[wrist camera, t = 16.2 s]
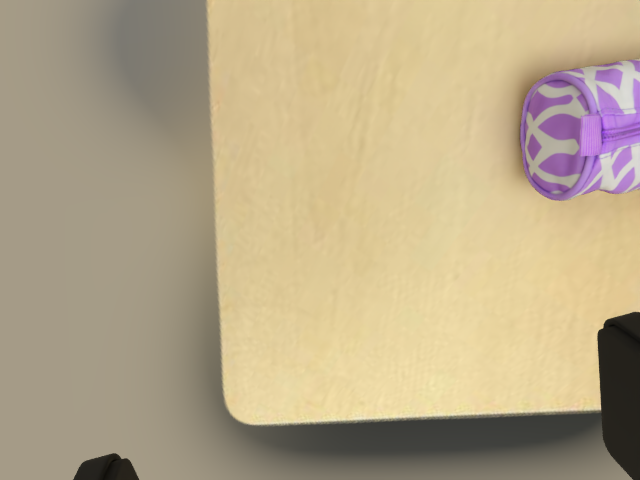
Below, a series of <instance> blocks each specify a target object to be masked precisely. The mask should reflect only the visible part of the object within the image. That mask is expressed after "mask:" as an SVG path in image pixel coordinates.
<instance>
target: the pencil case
mask: <svg viewBox="0 0 640 480" xmlns="http://www.w3.org/2000/svg"><path fill="white" fill-rule="evenodd" d="M520 142H521V149H522V153H523V165H524V170H525V173H526V176H527V178H528V180H529V182H530V183H531V185H532V186H533V187H534V188H535V189H536V190H537V191H538V192H539V193H540V194H542V195H543V196H545V197H547V198H549V199H551V200H559V201H566V200H570V199H572V198H575V197H577V196H579V195H582V194H586V193H589V192H592V191H595V190H601V191H605V192H608V193H612V194H622V193H627V192H630V191H633V190H636V189H640V59H633V60H625V61H618V62H615V63H611V64H605V65H598V66H588V67H584V68H579V69H572V70H567V71H558V72H554V73H551V74H549V75H547V76H545V77H544V78H542V79H540V80H539V81H538V82H536V83H535V84H534V85H533V86H532V88H531V89H530V91H529V92H528V94H527V96H526V98H525V101H524V105H523V109H522V119H521V125H520Z"/></svg>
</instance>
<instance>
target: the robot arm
mask: <svg viewBox="0 0 640 480" xmlns="http://www.w3.org/2000/svg"><path fill="white" fill-rule="evenodd" d="M598 356H599V374H600V393H601V412H602V430H603V440H604V443H605V446H606V447H607V450H608V451H609V453H610V455H611V456H612V457H613V458H614V459H615V460H616V462H617V463H618V464H619V465H620V466H621V467H622V468H623V469H624V470H625V471H626V472H627V474H628V475H629V476H630V477H631V478H632V479H633V480H640V312H633V313H629V314H625V315H622V316H618V317H614V318H611V319H608V320H606V321H605V323H604V327H603V329H601V330H599V332H598ZM73 480H139V478H138V476H137V474H136V472H135V470H134V468H133V466H132V464H131V462H130V460H128V459H121V458H120V456H119V455H117V454H114V453H113V454H109V455H106V456H102V457H98V458H94V459H91V460H87V461H85V462H83V463H82V464H81V466H80V467H79V469H78V471H77V473H76V475H75V477H74V479H73Z"/></svg>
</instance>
